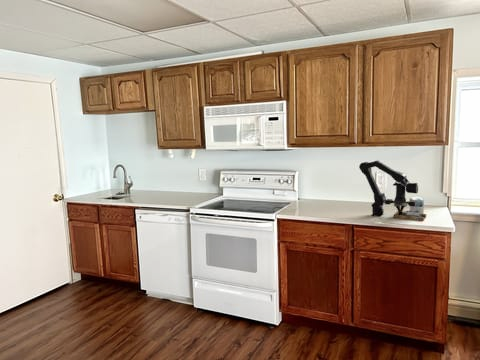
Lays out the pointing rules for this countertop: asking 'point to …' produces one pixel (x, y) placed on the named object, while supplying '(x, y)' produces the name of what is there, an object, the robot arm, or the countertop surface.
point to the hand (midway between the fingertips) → (400, 215)
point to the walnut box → (403, 216)
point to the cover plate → (414, 214)
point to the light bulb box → (417, 205)
